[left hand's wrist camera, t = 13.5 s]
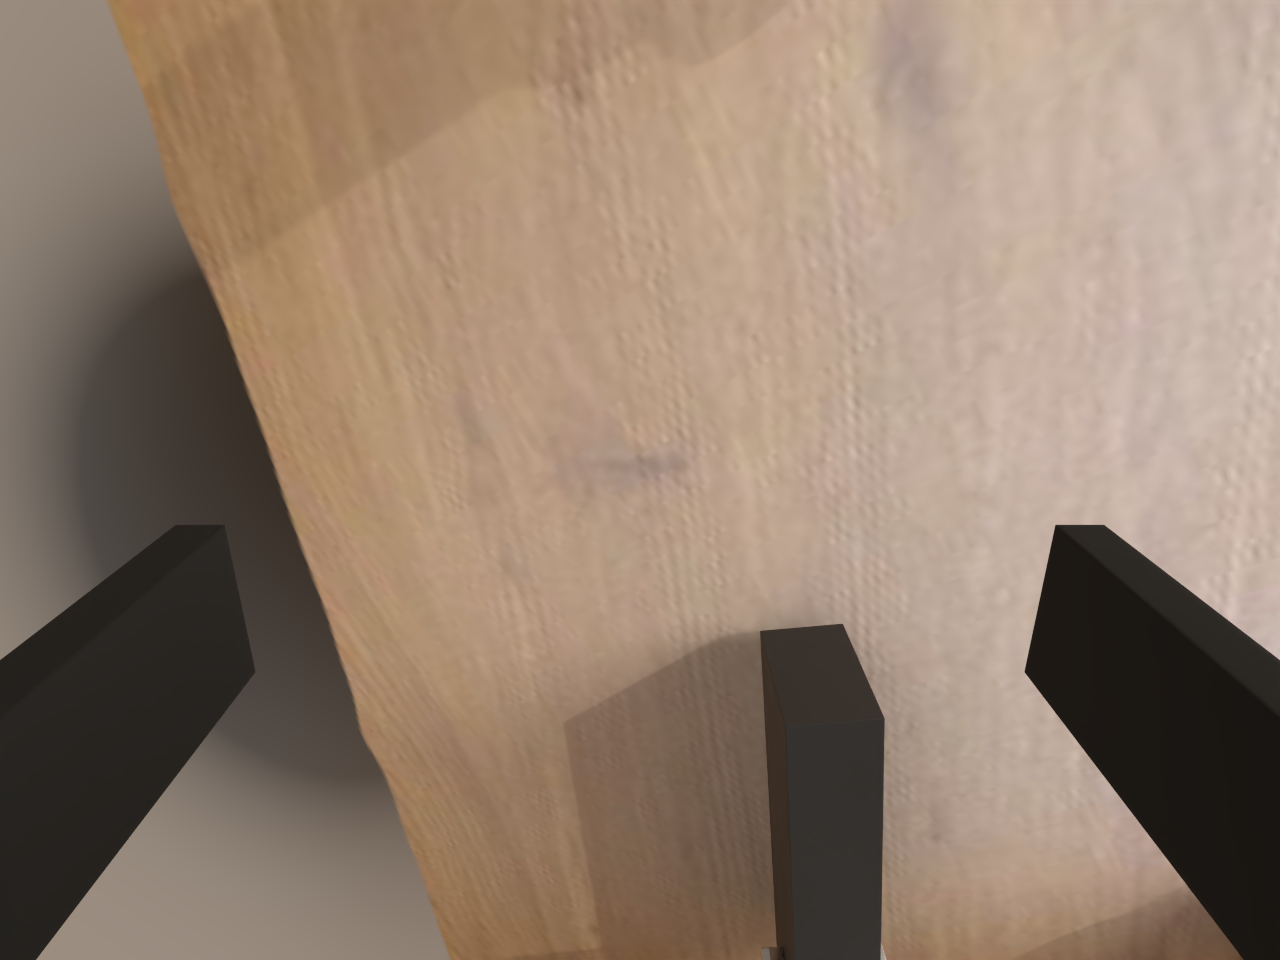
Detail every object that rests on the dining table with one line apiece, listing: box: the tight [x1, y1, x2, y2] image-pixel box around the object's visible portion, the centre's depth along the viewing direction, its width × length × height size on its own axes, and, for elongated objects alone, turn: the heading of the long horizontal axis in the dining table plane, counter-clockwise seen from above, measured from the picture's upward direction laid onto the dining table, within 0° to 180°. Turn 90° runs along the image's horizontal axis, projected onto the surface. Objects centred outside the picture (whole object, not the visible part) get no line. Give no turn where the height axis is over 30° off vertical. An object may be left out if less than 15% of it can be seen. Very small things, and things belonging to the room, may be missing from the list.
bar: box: [760, 624, 884, 960], centre depth 47 cm, size 26×5×8 cm, turn 6°
